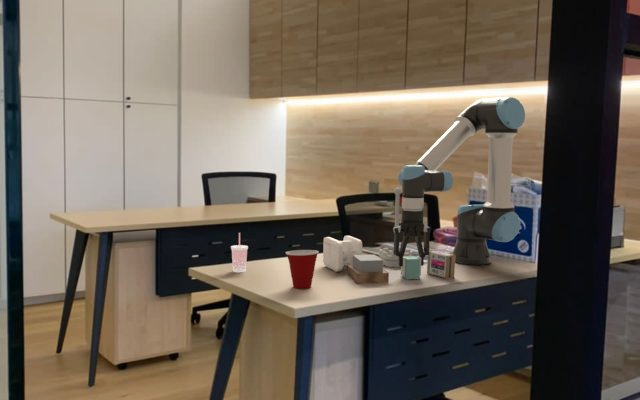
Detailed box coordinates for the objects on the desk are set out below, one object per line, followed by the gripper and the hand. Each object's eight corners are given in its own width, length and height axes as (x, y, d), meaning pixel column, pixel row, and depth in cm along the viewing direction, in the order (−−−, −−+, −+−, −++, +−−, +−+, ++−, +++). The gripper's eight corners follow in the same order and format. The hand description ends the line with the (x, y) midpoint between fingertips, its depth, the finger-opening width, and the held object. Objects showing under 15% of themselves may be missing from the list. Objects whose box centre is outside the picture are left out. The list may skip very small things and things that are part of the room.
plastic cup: (305, 281, 208) (305, 246, 206) (324, 288, 199) (325, 251, 198) (278, 285, 201) (278, 249, 200) (297, 292, 192) (298, 255, 191)
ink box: (426, 274, 223) (427, 251, 222) (433, 272, 225) (434, 250, 224) (447, 279, 215) (448, 255, 214) (455, 278, 217) (456, 254, 216)
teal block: (415, 275, 219) (415, 256, 218) (419, 278, 214) (420, 259, 213) (401, 275, 218) (402, 256, 217) (406, 279, 213) (406, 259, 212)
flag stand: (404, 268, 231) (406, 189, 228) (373, 264, 238) (375, 187, 235) (417, 263, 242) (420, 187, 239) (387, 259, 249) (389, 185, 246)
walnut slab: (377, 275, 220) (378, 265, 220) (388, 284, 208) (388, 272, 207) (347, 276, 218) (348, 265, 218) (356, 285, 206) (357, 273, 205)
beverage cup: (250, 271, 221) (250, 233, 220) (234, 273, 218) (234, 234, 217) (243, 268, 226) (243, 231, 225) (228, 270, 223) (228, 232, 222)
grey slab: (374, 265, 219) (374, 254, 218) (382, 271, 209) (383, 260, 209) (352, 266, 217) (352, 255, 217) (360, 272, 207) (360, 260, 207)
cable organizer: (363, 272, 224) (364, 240, 223) (336, 274, 220) (337, 242, 219) (346, 264, 238) (347, 234, 237) (321, 265, 234) (321, 235, 233)
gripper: (433, 208, 219) (431, 272, 221) (384, 208, 216) (383, 273, 218) (441, 210, 211) (438, 276, 214) (390, 211, 208) (389, 278, 211)
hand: (410, 275), depth 216 cm, fingers closed on teal block, 5 cm apart
